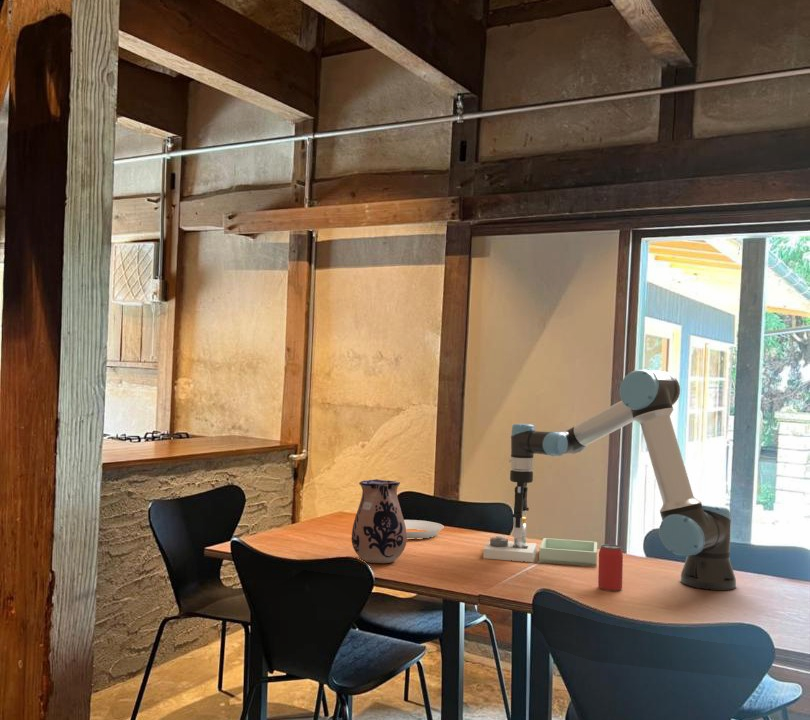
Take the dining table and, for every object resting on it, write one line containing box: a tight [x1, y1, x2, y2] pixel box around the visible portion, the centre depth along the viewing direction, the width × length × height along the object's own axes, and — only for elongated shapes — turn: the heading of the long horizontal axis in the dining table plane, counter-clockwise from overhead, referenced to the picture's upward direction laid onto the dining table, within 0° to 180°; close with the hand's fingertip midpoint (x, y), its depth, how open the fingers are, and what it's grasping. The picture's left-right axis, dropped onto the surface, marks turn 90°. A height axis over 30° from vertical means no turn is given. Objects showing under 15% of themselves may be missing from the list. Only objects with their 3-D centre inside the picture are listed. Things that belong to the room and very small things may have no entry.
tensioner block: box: [482, 535, 538, 563], centre depth 265 cm, size 16×16×6 cm
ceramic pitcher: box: [351, 478, 408, 564], centre depth 253 cm, size 18×21×25 cm
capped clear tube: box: [513, 516, 527, 549], centre depth 264 cm, size 4×4×13 cm
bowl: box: [404, 519, 444, 539], centre depth 296 cm, size 25×25×4 cm
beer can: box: [597, 543, 624, 592], centre depth 224 cm, size 7×7×12 cm
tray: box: [538, 537, 598, 567], centre depth 262 cm, size 18×18×4 cm
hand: (519, 533), depth 264 cm, fingers open, 13 cm apart
